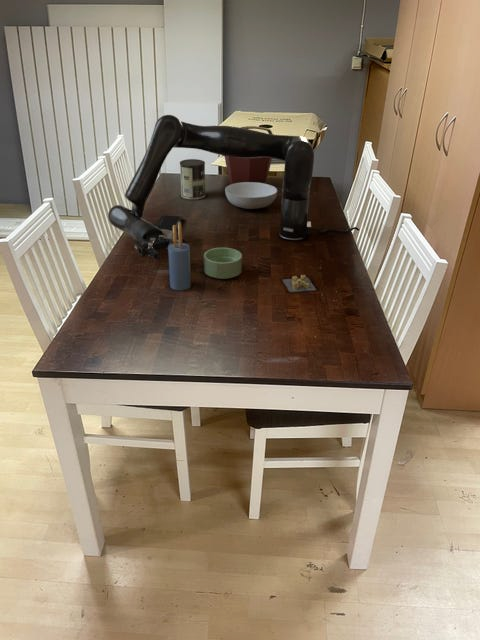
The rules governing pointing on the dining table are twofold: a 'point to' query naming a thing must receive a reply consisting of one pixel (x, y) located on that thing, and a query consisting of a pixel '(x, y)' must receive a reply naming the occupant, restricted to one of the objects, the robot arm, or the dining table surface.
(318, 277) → the dining table surface
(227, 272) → the bowl
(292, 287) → the carved rune cylinders
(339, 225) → the dining table surface
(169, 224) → the phone
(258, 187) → the serving bowl
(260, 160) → the bucket
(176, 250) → the breadstick jar
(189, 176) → the coffee can
